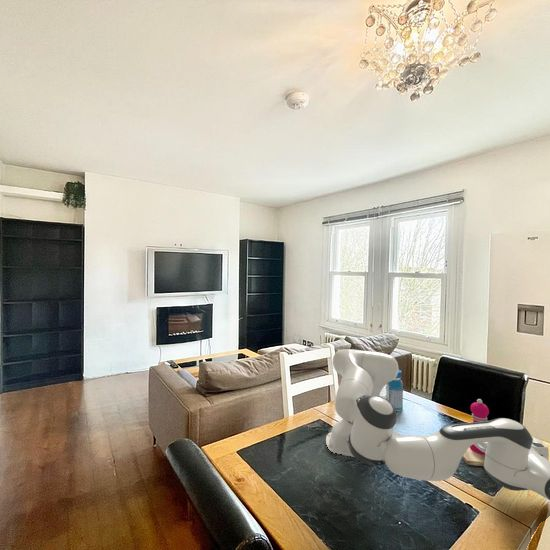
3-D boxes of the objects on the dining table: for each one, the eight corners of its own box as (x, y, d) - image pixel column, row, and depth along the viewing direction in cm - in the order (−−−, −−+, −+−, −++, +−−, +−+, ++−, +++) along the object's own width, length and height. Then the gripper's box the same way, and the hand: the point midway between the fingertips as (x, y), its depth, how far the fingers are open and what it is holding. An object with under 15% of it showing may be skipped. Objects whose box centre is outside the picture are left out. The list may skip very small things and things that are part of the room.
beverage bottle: (395, 413, 152) (395, 374, 151) (382, 407, 159) (382, 369, 159) (406, 410, 156) (406, 371, 155) (393, 403, 163) (393, 366, 163)
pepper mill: (494, 456, 114) (494, 404, 114) (473, 454, 116) (473, 402, 115) (484, 445, 121) (485, 396, 121) (465, 443, 123) (465, 394, 122)
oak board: (467, 464, 112) (467, 460, 112) (448, 440, 128) (448, 437, 128) (514, 468, 110) (514, 464, 110) (489, 443, 125) (489, 439, 125)
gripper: (483, 461, 98) (462, 438, 111) (553, 467, 95) (523, 442, 109) (483, 441, 98) (462, 421, 111) (553, 447, 95) (523, 425, 109)
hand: (493, 431), depth 110 cm, fingers open, 8 cm apart
